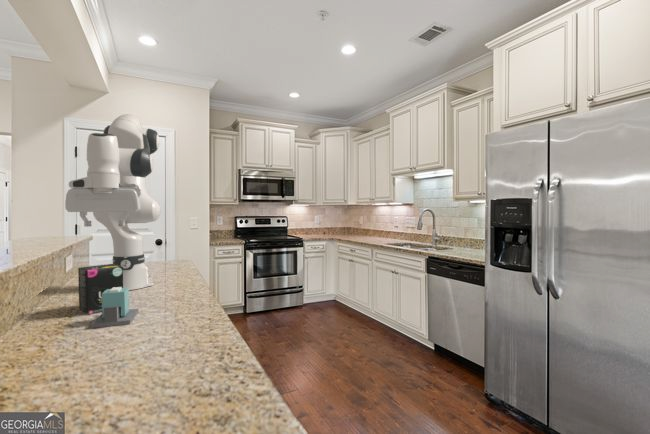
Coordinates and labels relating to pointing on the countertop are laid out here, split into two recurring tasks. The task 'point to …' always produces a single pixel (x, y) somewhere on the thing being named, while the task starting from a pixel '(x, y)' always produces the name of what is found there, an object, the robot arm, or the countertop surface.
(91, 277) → the tampon box
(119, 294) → the block
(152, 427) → the countertop surface
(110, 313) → the rail panel
